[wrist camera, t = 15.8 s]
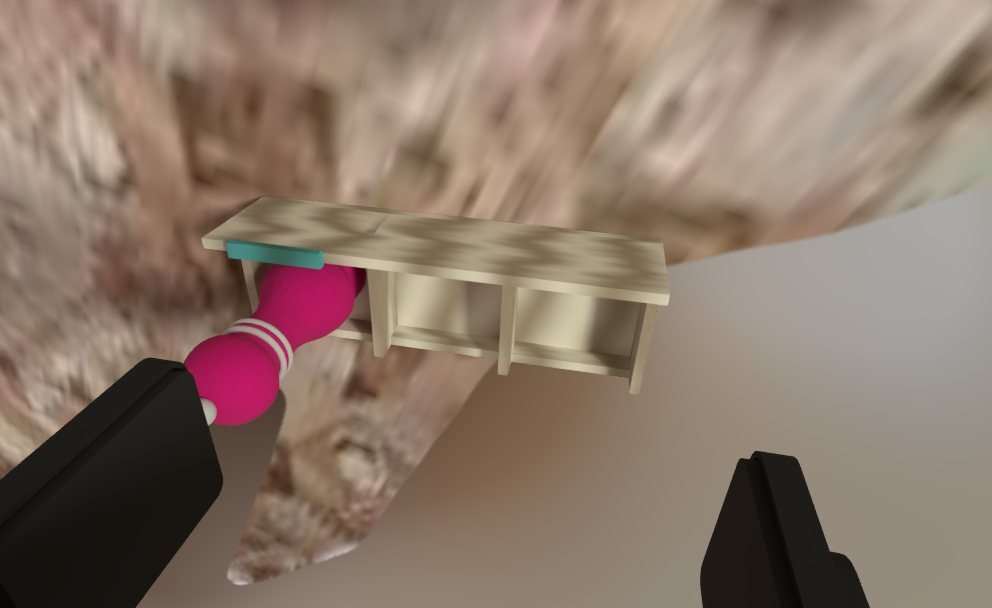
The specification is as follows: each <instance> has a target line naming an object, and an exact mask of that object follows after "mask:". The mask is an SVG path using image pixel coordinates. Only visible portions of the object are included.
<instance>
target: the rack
mask: <svg viewBox="0 0 992 608" xmlns="http://www.w3.org/2000/svg"><path fill="white" fill-rule="evenodd" d="M201 239H202V243H203V247H204V248H207V249H215V250H223V251H227V253H228V257H229V258H234V259H241V261H242V266H243V271H244V275H245V280H246V285H247V290H248V294H249V299H250V304H251V309H252V314H253V313H254V312H255V311H256V310H257V308H258V304H259V298H260V292H261V288H262V284H263V282H264V279H265V277H266V275H267V272H268V271H269V270H270V269H271V267H272V266H273V265H274V264H282V265H290V266H297V267H305V268H313V269H321V268H322V267H323V266H324V263H327V264H335V265H344V266H352V267H360V268H365V273H366V279H365V284H364V287H363V289H362V290H361V292H360V293H359V294H358V296H357V297H356V298H355V300H354V306H353V309H352V312H351V314H350V316H349V317H348V318H347V320H346V321H345V322H344V323H343V324H342V325H341V326H340V327H339V328H338V329H336V330H335V331H333V332H331V333H330V334H328V335H329V336H336V337H343V338H350V339H357V340H364V341H371V342H373V346H374V356H377V357H384V355H385V354H386V352H387V350H388V349H389V347H390V345H391V344H392V345H399V346H406V347H413V348H420V349H427V350H434V351H441V352H448V353H456V354H463V355H470V356H477V357H484V358H491V359H498V360H499V362H498V374H501V375H508V371H509V368H510V364H511V361H512V362H519V363H526V364H533V365H540V366H547V367H554V368H561V369H568V370H576V371H582V372H590V373H597V374H604V375H611V376H618V377H625V378H629V393H632V394H639V393H640V388H641V383H642V378H643V373H644V369H645V364H646V360H647V355H648V350H649V345H650V341H651V336H652V331H653V326H654V322H655V317H656V312H657V307H658V305H666V306H667V305H668V302H669V297H670V292H669V285H668V278H667V270H666V263H665V256H664V248H663V241H662V239H655V238H646V237H637V236H628V235H618V234H609V233H600V232H591V231H582V230H573V229H564V228H554V227H545V226H536V225H527V224H518V223H509V222H499V221H490V220H481V219H472V218H463V217H454V216H444V215H435V214H426V213H417V212H408V211H399V210H389V209H380V208H371V207H362V206H353V205H344V204H334V203H325V202H316V201H307V200H298V199H289V198H279V197H270V196H263V197H261V198H260V199H259V200H257V201H256V202H254V203H253V204H251V205H250V206H248V207H247V208H245V209H244V210H242V211H241V212H239V213H238V214H236V215H235V216H233V217H232V218H230V219H229V220H228V221H226V222H225V223H223V224H222V225H220V226H219V227H217V228H216V229H214V230H213V231H211V232H210V233H208V234H207V235H205V236H204V237H202V238H201Z"/></svg>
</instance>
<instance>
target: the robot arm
mask: <svg viewBox="0 0 992 608" xmlns="http://www.w3.org/2000/svg"><path fill="white" fill-rule="evenodd" d="M222 484H223V476H222V472H221V469H220V465H219V462H218V458H217V455H216V451H215V448H214V444H213V441H212V437H211V434H210V431H209V427H208V423H207V420H206V416H205V413H204V410H203V406H202V403H201V399H200V396H199V392H198V389H197V385H196V382H195V378H194V376H193V374H191V373H190V372H188V370H187V368H186V366H185V365H184V364H183V363H181V362H176V361H170V360H163V359H157V358H146V359H144V360H142V361H140V362H139V363H138V364H137V365H135V366H134V367H133V368H132V369H131V370H129V371H128V372H127V373H126V374H125V375H124V376H122V377H121V378H120V379H119V380H118V381H116V382H115V383H114V384H113V385H112V386H111V387H109V388H108V389H107V390H106V391H105V392H103V393H102V394H101V395H100V396H99V397H98V398H96V399H95V400H94V401H93V402H92V403H90V404H89V405H88V406H87V407H86V408H85V409H83V410H82V411H81V412H80V413H79V414H77V415H76V416H75V417H74V418H73V419H72V420H70V421H69V422H68V423H67V424H66V425H64V426H63V427H62V428H61V429H60V430H59V431H57V432H56V433H55V434H54V435H53V436H51V437H50V438H49V439H48V440H47V441H46V442H44V443H43V444H42V445H41V446H40V447H39V448H37V449H36V450H35V451H34V452H33V453H31V454H30V455H29V456H28V457H27V458H26V459H24V460H23V461H22V462H21V463H20V464H18V465H17V466H16V467H15V468H14V469H13V470H11V471H10V472H9V473H8V474H7V475H5V476H4V477H3V478H2V479H1V480H0V608H136V606H137V605H138V604H139V602H140V601H141V600H142V598H143V597H144V596H145V594H146V593H147V591H148V590H149V589H150V587H151V586H152V585H153V583H154V582H155V581H156V579H157V578H158V577H159V575H160V574H161V573H162V571H163V570H164V569H165V567H166V566H167V565H168V563H169V562H170V561H171V559H172V558H173V556H174V555H175V554H176V553H177V551H178V550H179V548H180V547H181V546H182V544H183V543H184V542H185V540H186V539H187V538H188V536H189V535H190V534H191V532H192V531H193V530H194V528H195V527H196V526H197V524H198V523H199V522H200V520H201V519H202V517H203V516H204V515H205V513H206V512H207V511H208V510H209V508H210V507H211V505H212V504H213V502H214V501H215V500H216V499H217V497H218V496H219V494H220V491H221V489H222ZM700 586H701V596H702V604H703V608H870V607H869V604H868V602H867V599H866V596H865V594H864V591H863V588H862V586H861V583H860V580H859V578H858V575H857V573H856V571H855V569H854V567H853V565H852V563H851V561H850V560H849V559H848V558H847V557H846V556H845V555H843V554H840V553H835V552H830V551H829V548H828V545H827V542H826V539H825V537H824V533H823V530H822V527H821V525H820V522H819V519H818V516H817V513H816V510H815V507H814V504H813V502H812V499H811V496H810V493H809V490H808V487H807V484H806V481H805V478H804V475H803V473H802V470H801V467H800V464H799V462H798V460H797V459H796V458H795V457H793V456H787V455H780V454H774V453H767V452H761V451H755V452H754V453H753V454H752V456H751V458H750V459H744V458H741V459H740V460H739V461H738V463H737V466H736V469H735V472H734V475H733V477H732V480H731V483H730V486H729V489H728V492H727V494H726V497H725V500H724V503H723V506H722V509H721V511H720V514H719V517H718V520H717V523H716V526H715V528H714V532H713V535H712V537H711V540H710V543H709V546H708V548H707V551H706V554H705V557H704V560H703V563H702V567H701V575H700Z"/></svg>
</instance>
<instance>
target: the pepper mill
mask: <svg viewBox="0 0 992 608" xmlns="http://www.w3.org/2000/svg"><path fill="white" fill-rule="evenodd" d="M365 279H366V273H365V268H360V267H352V266H344V265H335V264H327V263H324V266H323V267H322V268H321V269H313V268H305V267H297V266H290V265H282V264H274V265H273V266H272V267H271V269H270V270H269V271H268V272H267V275H266V277H265V279H264V282H263V284H262V288H261V292H260V298H259V304H258V308H257V310H256V311H255V312H254V313H253V314H252V315H251V317H249V318H245V319H240V320H237V321H235V322H233V323H232V324H231V325H230V326H229V327H228V329H226V330H224V331H223V333H222V334H221V335H218V336H214V337H211V338H209V339H207V340H205V341H203V342H201V343H200V344H199V345H197V346H196V347H195V348H194V349H193V350H192V351H191V352H190V353H189V355H188V356H187V358H186V360H185V361H184V365H185V366H186V368H187V370H188V372H190V373H191V374H193V376H194V378H195V382H196V385H197V389H198V392H199V396H200V399H201V403H202V406H203V410H204V413H205V416H206V420H207V423H208V425H209V424H211V423H212V422H213V423H217V424H221V425H231V426H232V425H239V424H244V423H247V422H249V421H251V420H253V419H255V418H257V417H258V416H260V415H261V414H263V413H264V412H265V411H266V410H267V409H268V408H269V407H270V406H271V404H272V403H273V401H274V400H275V398H276V395H277V392H278V389H279V381H280V380H281V379H282V378H283V377H284V375H285V374H286V373H287V372H288V371H289V369H290V368H291V366H292V363H293V352H294V351H295V350H296V349H297V348H298V347H299V346H301V345H303V344H305V343H307V342H310V341H313V340H316V339H319V338H322V337H324V336H326V335H328V334H330V333H331V332H333V331H335V330H336V329H338V328H339V327H340V326H341V325H342V324H343V323H344V322H345V321H346V320H347V318H348V317H349V316H350V314H351V312H352V309H353V306H354V300H355V298H356V297H357V296H358V294H359V293H360V292H361V290H362V289H363V287H364V284H365Z"/></svg>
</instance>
